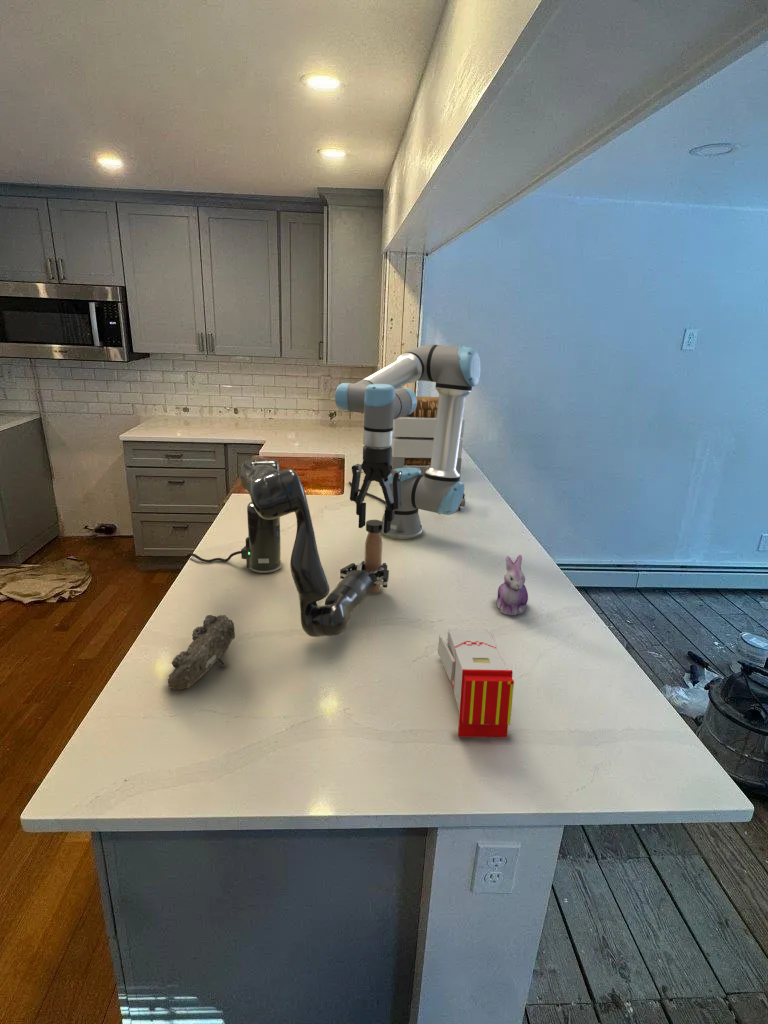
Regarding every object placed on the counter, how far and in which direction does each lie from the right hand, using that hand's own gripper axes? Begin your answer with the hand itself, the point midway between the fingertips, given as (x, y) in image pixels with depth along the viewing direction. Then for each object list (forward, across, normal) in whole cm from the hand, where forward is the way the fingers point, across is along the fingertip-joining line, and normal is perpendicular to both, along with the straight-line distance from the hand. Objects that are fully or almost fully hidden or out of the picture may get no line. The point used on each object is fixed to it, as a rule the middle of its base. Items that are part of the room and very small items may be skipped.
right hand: (374, 528), depth 153 cm
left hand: (+12, 0, -3) cm, 12 cm away
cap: (-2, 0, 0) cm, 2 cm away
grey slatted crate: (+18, +31, -120) cm, 125 cm away
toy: (+18, -38, +31) cm, 52 cm away
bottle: (+18, 0, 0) cm, 18 cm away
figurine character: (+18, +1, -81) cm, 83 cm away
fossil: (+18, +17, +49) cm, 55 cm away
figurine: (+18, -38, -9) cm, 43 cm away
